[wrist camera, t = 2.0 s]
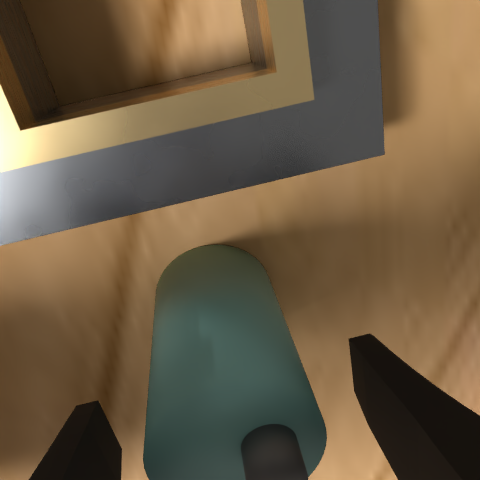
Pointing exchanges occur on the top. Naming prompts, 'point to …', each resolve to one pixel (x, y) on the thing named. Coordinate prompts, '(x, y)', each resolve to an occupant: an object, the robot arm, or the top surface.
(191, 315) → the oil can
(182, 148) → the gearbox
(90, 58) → the top surface
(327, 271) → the top surface
